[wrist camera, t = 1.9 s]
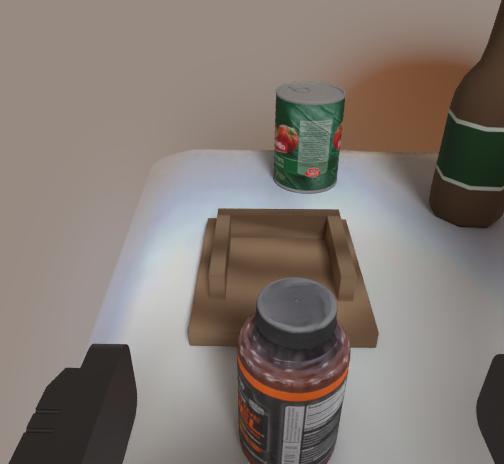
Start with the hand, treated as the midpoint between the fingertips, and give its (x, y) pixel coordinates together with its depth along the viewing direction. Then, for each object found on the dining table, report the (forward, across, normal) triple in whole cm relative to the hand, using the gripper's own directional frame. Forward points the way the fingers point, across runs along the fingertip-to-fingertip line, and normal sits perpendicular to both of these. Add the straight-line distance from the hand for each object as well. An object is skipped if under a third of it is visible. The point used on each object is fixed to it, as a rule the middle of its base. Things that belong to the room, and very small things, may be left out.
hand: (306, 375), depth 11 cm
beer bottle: (+40, -22, +17) cm, 48 cm away
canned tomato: (+47, -4, +17) cm, 50 cm away
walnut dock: (+27, -1, +17) cm, 32 cm away
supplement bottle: (+11, -1, +18) cm, 21 cm away
